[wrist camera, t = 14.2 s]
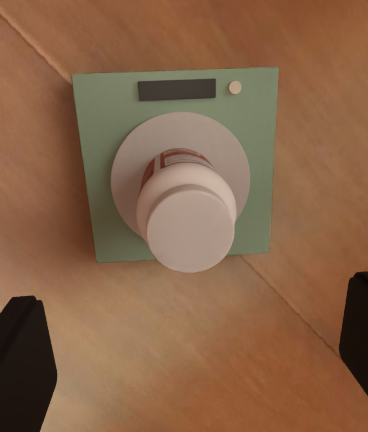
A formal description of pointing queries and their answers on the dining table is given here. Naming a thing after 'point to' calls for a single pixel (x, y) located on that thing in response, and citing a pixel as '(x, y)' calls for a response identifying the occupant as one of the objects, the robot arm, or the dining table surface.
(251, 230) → the scale
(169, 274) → the dining table surface
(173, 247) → the pill bottle
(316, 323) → the dining table surface
